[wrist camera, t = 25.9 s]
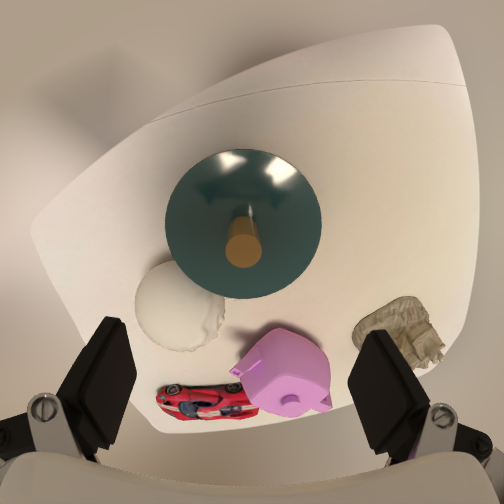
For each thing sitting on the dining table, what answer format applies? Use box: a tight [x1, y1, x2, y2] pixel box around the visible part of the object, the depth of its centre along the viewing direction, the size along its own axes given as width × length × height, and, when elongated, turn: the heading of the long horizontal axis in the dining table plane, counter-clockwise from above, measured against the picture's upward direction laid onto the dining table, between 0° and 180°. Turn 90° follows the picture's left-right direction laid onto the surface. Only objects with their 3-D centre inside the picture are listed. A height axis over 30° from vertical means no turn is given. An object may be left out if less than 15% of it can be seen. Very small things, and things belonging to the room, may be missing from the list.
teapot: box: [229, 327, 333, 417], centre depth 40 cm, size 20×12×13 cm, turn 53°
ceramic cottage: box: [352, 296, 445, 371], centre depth 40 cm, size 16×16×15 cm
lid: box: [165, 149, 322, 299], centre depth 22 cm, size 14×14×6 cm
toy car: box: [156, 382, 259, 421], centre depth 48 cm, size 10×22×5 cm, turn 98°
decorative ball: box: [135, 260, 225, 352], centre depth 35 cm, size 12×12×12 cm
